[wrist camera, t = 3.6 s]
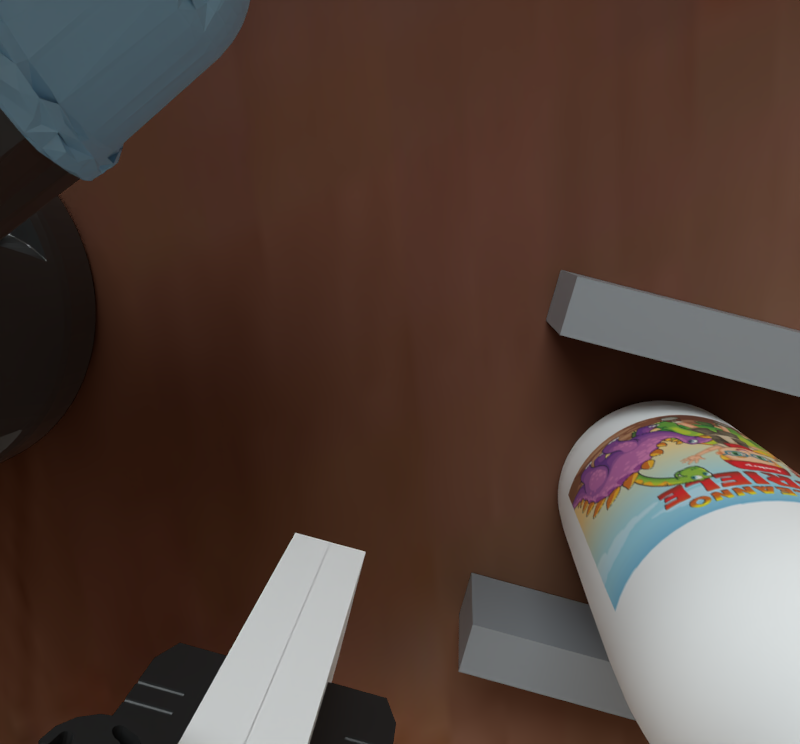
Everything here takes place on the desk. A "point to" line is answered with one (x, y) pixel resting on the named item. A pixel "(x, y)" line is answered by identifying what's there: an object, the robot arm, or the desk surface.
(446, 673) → the desk surface
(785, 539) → the milk bottle
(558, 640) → the bottle rest
